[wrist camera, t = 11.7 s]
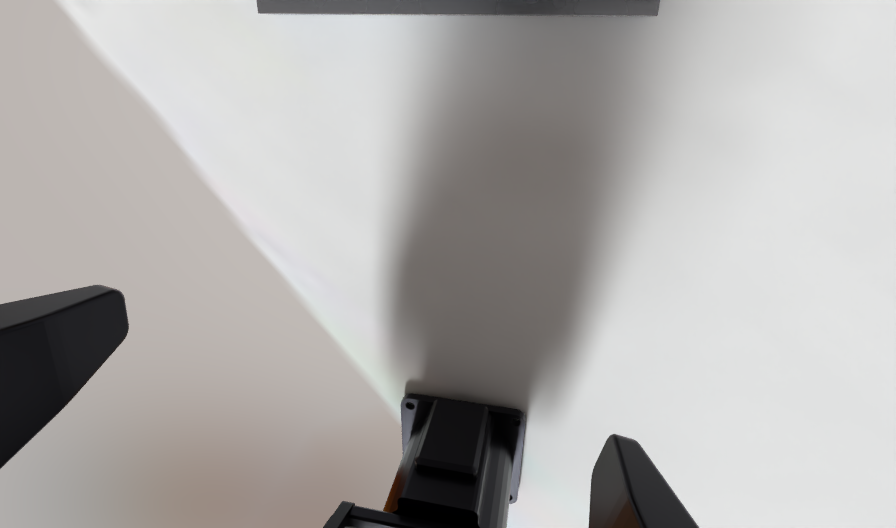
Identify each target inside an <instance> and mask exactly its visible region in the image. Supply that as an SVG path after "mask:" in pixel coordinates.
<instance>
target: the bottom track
mask: <svg viewBox="0 0 896 528" xmlns="http://www.w3.org/2000/svg"><path fill="white" fill-rule="evenodd" d="M659 3H660V0H257V7H258V13H262V14H339V15H506V16H657V15H658V9H659Z"/></svg>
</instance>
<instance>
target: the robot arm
mask: <svg viewBox="0 0 896 528" xmlns="http://www.w3.org/2000/svg"><path fill="white" fill-rule="evenodd" d="M128 329H129V324H128V317H127V312H126V305H125V298H124V295H123V294H122V292H120V291H119V290H117V289H113V288H110V287H106V286H102V285H93V286H88V287H83V288H78V289H73V290H69V291H63V292H59V293H54V294H49V295H44V296H39V297H34V298H29V299H24V300H19V301H15V302H9V303H5V304H0V469H1V468H2V467H3V466H4V465H5V464H6V463H7V462H8V461H9V460H10V459H11V458H12V457H13V456H14V455H15V454H16V453H17V452H18V451H19V450H21V449H22V448H23V447H24V446H25V445H26V444H27V443H28V442H29V441H30V440H31V439H32V438H33V437H34V436H35V435H36V434H37V433H38V432H39V431H40V430H41V429H42V428H43V427H45V426H46V425H47V424H48V423H49V422H50V421H51V420H52V419H53V418H54V417H55V416H56V415H57V414H58V413H59V412H60V411H61V410H62V409H63V408H64V407H65V406H66V405H67V404H68V403H69V402H70V401H71V400H72V398H73V397H74V396H75V395H76V394H77V393H78V391H80V389H81V388H82V387H83V386H84V385H85V384H86V383H87V381H88V380H89V379H90V378H91V377H92V376H93V375H94V373H95V372H96V371H97V370H98V369H99V368H100V367H101V366H102V364H103V363H104V362H105V361H106V360H107V359H108V357H109V356H110V355H111V354H112V353H113V352H114V351H115V350H116V348H117V347H118V346H119V345H120V344H121V343H122V342H123V340H124V339H125V337H126V336H127V333H128ZM408 402H411V403H413V404H414V405H412V404H409V403H408ZM513 419H518V421H515V420H513ZM401 421H402V444H403V458H402V460H401V463H400V466H399V468H398V471H397V474H396V477H395V480H394V482H393V485H392V488H391V490H390V493H389V496H388V498H387V501H386V504H385V507H384V509H383V511H379V510H374V509H369V508H364V507H359V506H355V504H354V503H351V502H345V501H342V503H341V504H340V505H339V507H338V508H337V510H336V511H335V513H334V514H333V515H332V516H331V517H330V519H329V520H328V521H327V523H326V524H325V526H324V527H323V528H506V527H507V517H508V508H509V504H512V503H515V502H516V501H517V496H518V487H519V477H520V468H521V459H522V449H523V440H524V431H525V421H526V417H525V414H524V413H523V412H522V411H520V410H517V409H511V408H504V407H498V406H491V405H484V404H478V403H471V402H464V401H458V400H451V399H445V398H438V397H431V396H425V395H418V394H406V395H405V396H404V397H403V399H402V402H401ZM589 528H699V527H698V525H697V524H696V523H695V521H694V520H693V518H692V517H691V516H690V514H689V513H688V511H687V510H686V509H685V507H684V506H683V504H682V503H681V502H680V500H679V499H678V497H677V496H676V495H675V493H674V492H673V490H672V489H671V487H670V486H669V485H668V483H667V482H666V480H665V479H664V478H663V476H662V475H661V473H660V472H659V471H658V469H657V468H656V466H655V465H654V464H653V462H652V461H651V459H650V458H649V457H648V455H647V454H646V452H645V451H644V450H643V448H642V447H641V445H640V444H639V443H638V442H637V441H636V440H634V439H630V438H627V437H624V436H620V435H617V434H613V435H610V436H609V438H608V439H607V441H606V443H605V445H604V447H603V449H602V451H601V453H600V455H599V458H598V460H597V462H596V464H595V466H594V469H593V473H592V479H591V495H590V514H589Z"/></svg>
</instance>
